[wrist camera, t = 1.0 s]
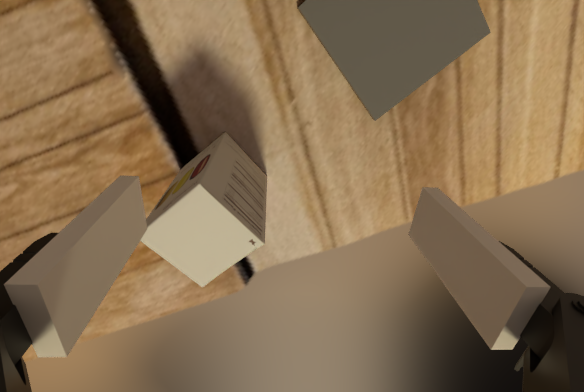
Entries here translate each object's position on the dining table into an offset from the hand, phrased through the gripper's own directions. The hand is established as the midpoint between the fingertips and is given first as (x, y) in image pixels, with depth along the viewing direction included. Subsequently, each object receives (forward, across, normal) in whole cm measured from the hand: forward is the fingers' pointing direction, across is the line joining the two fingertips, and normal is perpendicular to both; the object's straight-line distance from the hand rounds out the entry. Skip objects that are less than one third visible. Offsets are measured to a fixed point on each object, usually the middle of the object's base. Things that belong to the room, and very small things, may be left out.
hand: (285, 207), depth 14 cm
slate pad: (+29, +14, +10) cm, 34 cm away
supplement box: (+30, -7, -11) cm, 32 cm away
